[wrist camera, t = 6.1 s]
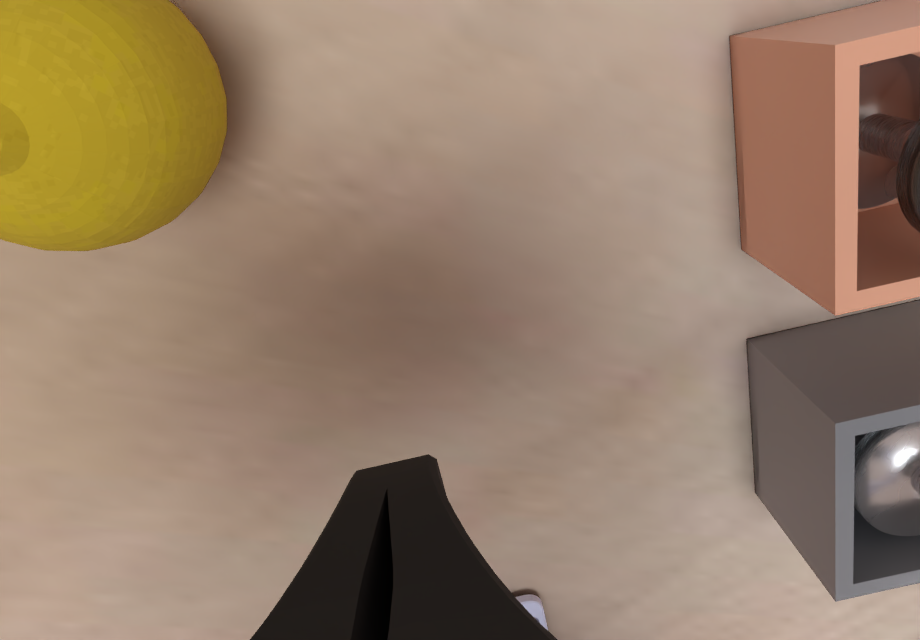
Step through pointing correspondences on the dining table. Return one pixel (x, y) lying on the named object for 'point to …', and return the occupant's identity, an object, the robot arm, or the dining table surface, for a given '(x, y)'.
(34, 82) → the lemon
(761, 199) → the tan open box
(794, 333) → the gray open box
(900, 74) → the dark metallic spool
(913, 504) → the charcoal plunger
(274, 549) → the dining table surface
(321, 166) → the dining table surface
